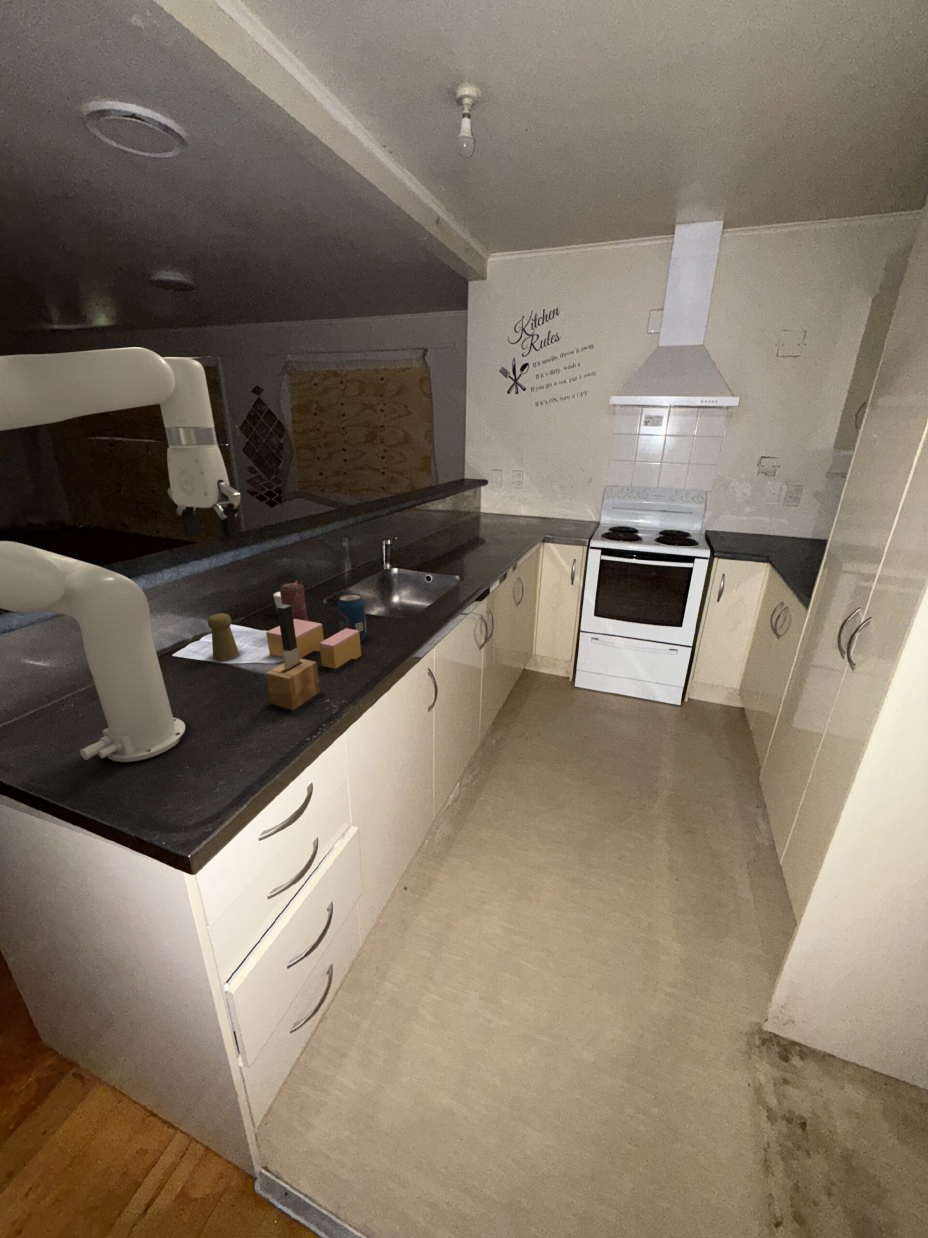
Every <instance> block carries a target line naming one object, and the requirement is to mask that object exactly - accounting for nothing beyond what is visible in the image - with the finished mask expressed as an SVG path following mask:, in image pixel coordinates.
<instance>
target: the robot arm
mask: <svg viewBox="0 0 928 1238" xmlns="http://www.w3.org/2000/svg"><path fill="white" fill-rule="evenodd" d="M208 389H209V388H208V383H207V377H206V372H205V369H204V367H203V365H202V364H201V363H200V362H199V361H198V360H195V359H194V358H193V359H192V358H187V357H180V356H179V357H178V356H165V357H162V356H161V355H159V354H158V353H156V352H154V350H150V349H148V348H146V347H145V348H144V347H139V346H138V347H137V346H135V347H133V346H131V347H121V348H106V349H94V350H83V351H82V350H81V351H70V352H60V353H44V354H41V353H39V354H37V353H36V354H33V353H32V354H31V353H30V354H12V355H0V431H7V430H14V429H21V428H27V427H33V426H34V427H35V426H39V425H40V426H41V425H46V424H54V423H58V422H63V421H66V420H69V419H73V418H77V417H82V416H88V415H94V414H95V415H96V414H100V413H101V414H102V413H108V412H113V411H120V410H127V409H133V408H139V407H147V406H153V405H159V406H160V411H161V417H162V420H163V426H164V430H165V434H166V439H167V444H168V447H167V451H166V456H167V459H166V460H167V461H166V462H167V473H168V480H169V483H170V484H169V485H170V487H169V488H168V489H167V494H168V496H169V498H170V499H171V503H172V505H173V506H174V508H175V509H176V514H177V515H178V516H179V518H180V522H181V527H182V532H183V537H185V538H190V537H191V538H192V537H195V536H201V534H202V529H201V524H200V519H199V515H198V512H195V511H196V508H199V509H210V508H213V510H214V511H215V512H216V513H217V515H218V516H219V518H217V519H218V520H217V522H218V527H219V532H220V533H219V534H220V539H221V541H222V542H230V541H234V540H238V539H239V532H238V526H237V519H236V518H237V517H238V511H239V510H240V502H241V498H242V494H241V493H240V492H239V491H238V490H236V489H235V488H234V487H232V486H231V485H230V481H229V477H228V473H227V469H226V466H225V462H224V459H223V455H222V453H221V450H220V448H219V444H218V440H217V434H216V429H215V422H214V417H213V412H212V411H213V410H212V406H211V400H210V394H209V390H208ZM223 508H224V509H223ZM0 609H3V610H7V611H10V612H15V613H17V612H18V613H35V612H40V611H47V612H51V613H55V614H61V615H66V616H69V617H71V618H73V619H74V620H75V621H77V623H78V625H79V628H80V632H81V637H82V643H83V644H82V645H83V649H84V653H85V658H86V661H87V664H88V667H89V671H90V674H91V676H92V679H93V683H94V686H95V689H96V692H97V695H98V699H99V702H100V705H101V708H102V711H103V715H104V717H105V720H106V724H107V727H106V728H104V729H102V734H103V736H102V737H100V738H99V739H98V741H97V742H95V743H91V744H90V745H87V746H86V747H84V748H81V749H80V750H79V753H80V756H81V757H82V759H84V761H85V760H86V761H87V760H89V759H92V758H93V757H96V756H97V755H98V756H99V757H100V758H101V759H104V758H107V759H109V760H111V761H113V762H121V763H128V762H130V763H131V762H138V761H143V760H147V759H150V758H153V757H156V756H159V755H160V754H163V753H165V752H167V751H168V750H170V749H172V748H173V747H175V746H177V745H178V744H179V743H180V742H181V741H182V739H180V738H181V737H182V736H183V735H184V733H185V731H186V724H185V722H184V721H183V720H181V719H180V718H177V717H173V713H172V709H171V704H170V700H169V697H168V692H167V689H166V685H165V681H164V677H163V673H162V668H161V666H160V662H159V657H158V654H157V649H156V646H155V642H154V637H153V633H152V625H151V612H150V611H151V610H150V605H149V601H148V598H147V596H146V594H145V593H144V591H143V589H142V588H141V587H140V586H139V584H137V583H136V582H135V581H133V580H132V579H130V577H129V578H128V576H125V575H123V574H121V573H118V572H115V571H112V570H110V569H107V568H105V567H103V566H99V565H96V564H93V563H90V562H86V561H83V560H80V559H75V558H73V557H68V556H66V555H62V554H58V553H55V552H52V551H48V550H45V549H42V548H38V547H34V546H32V545H28V544H25V543H22V542H21V543H20V542H17V541H8V540H0Z"/></svg>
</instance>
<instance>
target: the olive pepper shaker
mask: <svg viewBox="0 0 928 1238" xmlns="http://www.w3.org/2000/svg"><path fill="white" fill-rule="evenodd" d="M231 625H232V618H231V616H230V615H229V614H227V613H224V612H223V613H221V612H220V613H215V614H212V615H210V616H208V619H207V626H208V628H209V629H211V645H212V659H213V661H216V662H226V661H231V660H234V659H236V658H238V657H239V656H240V650H239V649H238V646H237V643H236V640H235V637H234V633H233V632H232V629H231Z"/></svg>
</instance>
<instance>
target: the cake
mask: <svg viewBox="0 0 928 1238" xmlns="http://www.w3.org/2000/svg"><path fill="white" fill-rule="evenodd" d="M293 621H294V628H295V636H296V643H297V645H298V649H299V657H300V658H301V659H303V657H305V656H307V655H309V654H311V653H312V652H320V644H319V643H320V642H322V641H324V640H325V638H324V637H325V636H324V629H323V623H320V622H315V621H310V620H308V621H304V620H299V619H293ZM265 634H266V640H267V646H268V652H269V657H272V656H273V655H274V656H277V657H278V656H279V657H282V658H283V652H284V651H286V650H283V644H282V637H281V631H280V625H278V626H276V627H274V628H271V629H269V630H267V631H266V633H265Z"/></svg>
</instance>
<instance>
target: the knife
mask: <svg viewBox="0 0 928 1238" xmlns="http://www.w3.org/2000/svg"><path fill="white" fill-rule="evenodd" d="M277 611H278V612H277ZM276 612H277V618H278V623H279V626H280V631H281V637H282V644H283V650H286V651H284V652H283V657H282V658H283V663H284V665H285V672H288V671H289V670H291V669H293V668H295V667H296V666H298V665H300V657H299V649H298V645H297V643H296V636H295V628H294V621H293V614H292V607H291V605H285V604H284V605H282V606H279V607H277V608H276Z"/></svg>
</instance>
